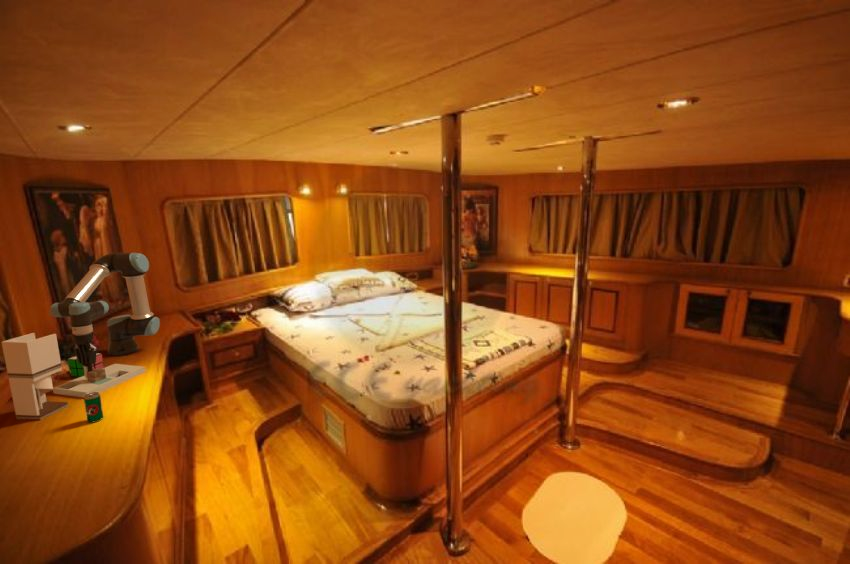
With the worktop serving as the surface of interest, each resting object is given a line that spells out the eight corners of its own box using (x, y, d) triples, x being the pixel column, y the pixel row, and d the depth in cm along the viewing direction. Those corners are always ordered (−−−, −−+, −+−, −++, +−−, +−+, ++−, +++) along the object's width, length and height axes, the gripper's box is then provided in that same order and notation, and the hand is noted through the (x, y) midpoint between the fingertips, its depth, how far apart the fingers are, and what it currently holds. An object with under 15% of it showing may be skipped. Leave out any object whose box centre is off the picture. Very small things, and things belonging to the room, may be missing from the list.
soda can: (106, 418, 153) (102, 392, 151) (92, 424, 148) (88, 398, 146) (98, 415, 155) (95, 390, 152) (84, 421, 150) (80, 396, 148)
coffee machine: (40, 420, 150) (26, 342, 144) (16, 419, 150) (1, 341, 144) (68, 406, 161) (56, 333, 155) (45, 405, 162) (32, 332, 155)
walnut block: (98, 377, 184) (96, 368, 183) (106, 378, 183) (104, 369, 182) (87, 381, 179) (86, 372, 178) (95, 382, 178) (94, 373, 177)
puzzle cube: (104, 369, 199) (102, 353, 197) (86, 377, 189) (83, 360, 187) (88, 368, 200) (86, 352, 198) (69, 376, 190) (66, 359, 188)
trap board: (115, 368, 201) (115, 363, 200) (145, 371, 198) (145, 366, 197) (53, 393, 172) (52, 387, 171) (87, 398, 169) (86, 392, 168)
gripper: (63, 334, 173) (70, 378, 178) (85, 336, 171) (91, 381, 175) (80, 329, 181) (87, 372, 185) (101, 332, 179) (107, 375, 183)
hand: (89, 376), depth 180 cm, fingers closed
